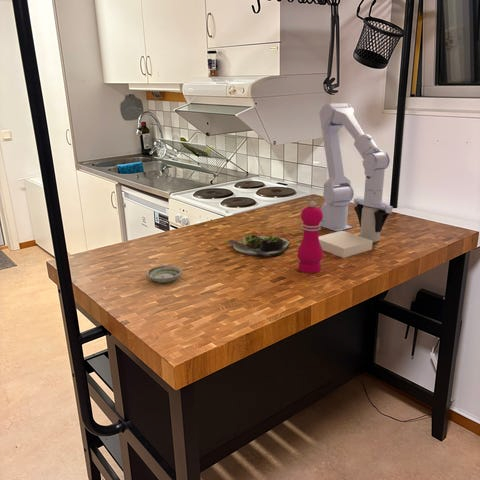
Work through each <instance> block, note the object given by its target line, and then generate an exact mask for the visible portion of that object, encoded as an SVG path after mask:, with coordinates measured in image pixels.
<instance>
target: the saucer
mask: <svg viewBox="0 0 480 480" xmlns="http://www.w3.org/2000/svg"><path fill="white" fill-rule="evenodd" d="M182 274H183V270H182V269H181V268H180V267H179V266H178V267H177V266H176V265H175V266H174V265H157V266H154V267H151V268H149V269H148V270H147V271H146V272H145V276H146V277H148V278H149V279H150V280H152V281H153V282H156V283H160V284H167V283H172V282H173V281H174V280H177V279H178V278H179V277H180V276H181V275H182Z"/></svg>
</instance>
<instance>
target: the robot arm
mask: <svg viewBox="0 0 480 480" xmlns="http://www.w3.org/2000/svg"><path fill="white" fill-rule="evenodd" d="M354 114H355V110H354V108H353V107H352V105H351V103H349V102H338V103H337V102H336V103H335V102H334V103H330V102H326V103H323V105H322V107H321V109H320V110H319V114H318V115H319V120H320V126H321V127H320V128H321V132H322V141H323V145H324V146H323V147H324V152H325V160H326V161H325V162H326V167H327V173H328V174H327V175H328V179H327V180H326V181H325V182H324V183H323V196H322V197H323V200H324V203H323V204H322V206H321V208H320V209H321V211H322V213H323V219H322V221H321V222H320V224H321V226H320V227H321V228H325V229H328V230H331V231H335V232H339V231H345V230H348V229H352V227H353V226H351V225H348V212H349V211H348V210H349V209H348V208H349V205H350V204H351V201H353V203H352V204H353V205H355V206H354V207H353V209H354V211H355V213H356V216H357V219H358V224H359V228H361V216H362V209H363V206H368V207H374V208H379V209H378V210H379V211H377V212H374V215H375V220H376V225H375V232H380V233H381V232H382V231H383V230H382V229H383V227H384V224H385V222H386V221H387V218H388V217H389V216H390V215H391V213H393V207H394V206H392V205H389V204H386V203H384V202H383V193H384V181H385V172H386V171H385V170H386V169H387V168H388V167H389V165H390V156H389V154H388V152H386V151H385V150H382V149H380V148H379V147H378V145H377V144H376V143H375V141H374V140H373V137H372V136H371V135H370V134H367V133H364V131H363V130H362V127H361V126H360V124H359V122H358V120H357V119H356V117H355V115H354ZM343 127H344V128H345V129H346V130H347V132H348V133H349V135H351V137H352V139H354V142H353V145H354V147H355V149H356V150H357V152H358V153H359V155H360V157H362V159H363V160H362V166H363V169H364V176H365V180H364V181H365V183H364V192H363V193H364V194H363V195H364V196H363V198H359V197H356V198H354V194H355V193H354V192H355V191H354V187H353V186H352V184H351V183H352V182H351V180H350V179H349V178H348V177H347V176H345V172H344V166H343V158H342V152H341V151H342V150H341V145H340V139H339V131H340V129H342V128H343Z"/></svg>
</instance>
